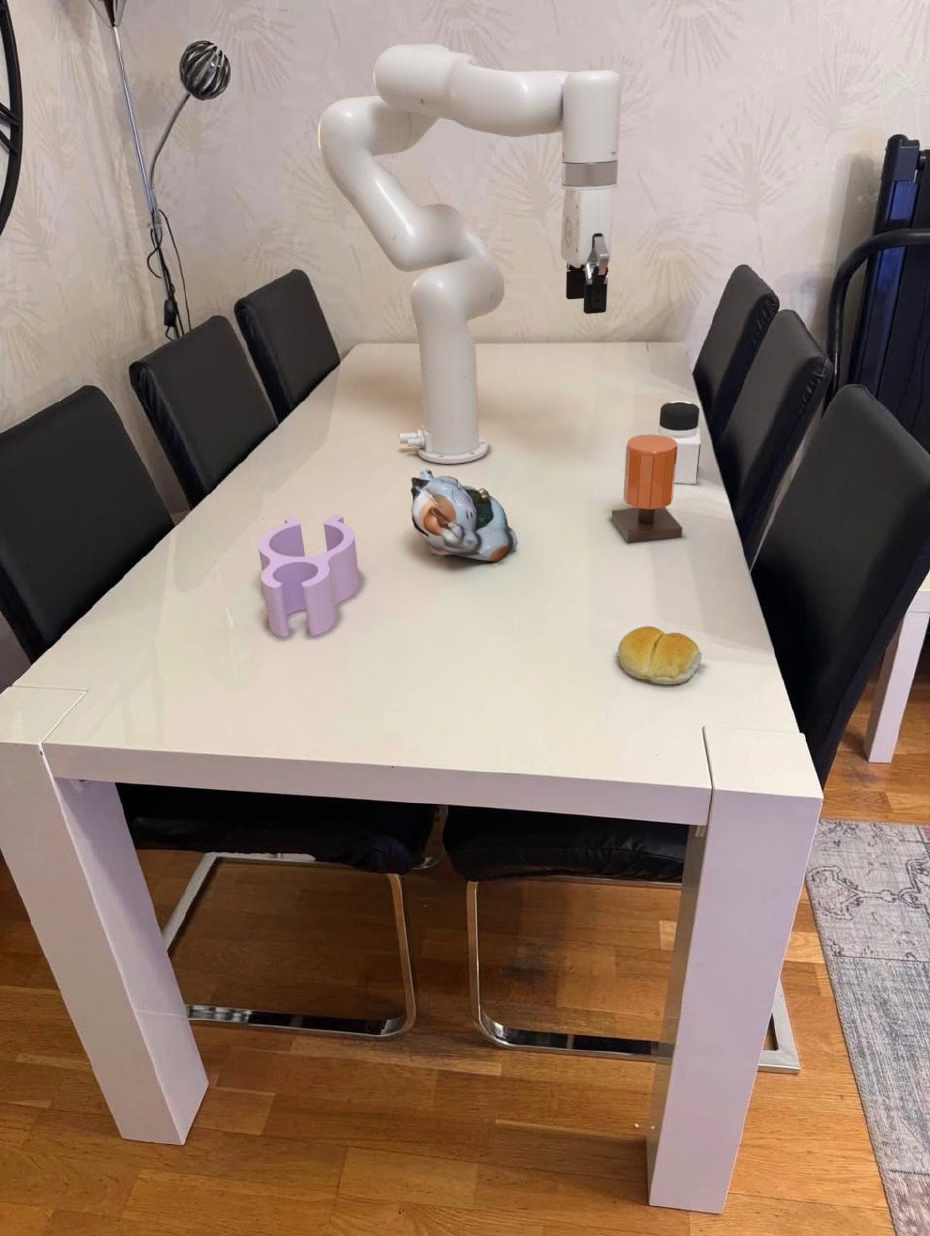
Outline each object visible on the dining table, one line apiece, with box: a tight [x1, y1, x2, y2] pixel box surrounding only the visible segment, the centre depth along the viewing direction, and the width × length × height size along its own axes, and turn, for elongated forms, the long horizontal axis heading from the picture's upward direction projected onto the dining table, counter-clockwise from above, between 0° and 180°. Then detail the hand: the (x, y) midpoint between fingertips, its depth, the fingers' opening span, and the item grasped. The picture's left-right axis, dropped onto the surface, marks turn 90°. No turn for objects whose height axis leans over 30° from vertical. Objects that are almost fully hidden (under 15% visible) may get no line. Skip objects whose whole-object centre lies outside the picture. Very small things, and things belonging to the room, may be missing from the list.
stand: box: [610, 507, 683, 544], centre depth 128 cm, size 8×8×13 cm
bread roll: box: [617, 625, 703, 685], centre depth 101 cm, size 8×9×4 cm
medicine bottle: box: [654, 400, 702, 485], centre depth 145 cm, size 7×7×12 cm
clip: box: [257, 514, 360, 638], centre depth 117 cm, size 20×12×7 cm, turn 0°
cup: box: [622, 434, 677, 509], centre depth 127 cm, size 7×7×8 cm
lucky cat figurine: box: [410, 469, 519, 563], centre depth 124 cm, size 15×12×14 cm
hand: (585, 305), depth 132 cm, fingers open, 9 cm apart
